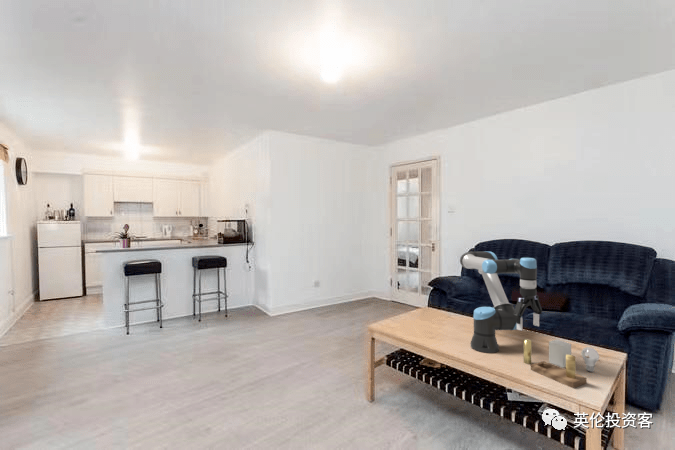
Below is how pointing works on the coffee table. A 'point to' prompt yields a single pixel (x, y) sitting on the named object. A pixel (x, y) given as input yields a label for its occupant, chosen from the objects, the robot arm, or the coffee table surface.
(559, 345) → the block
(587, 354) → the light bulb
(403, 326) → the coffee table surface
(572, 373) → the board
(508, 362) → the coffee table surface
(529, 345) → the pin
